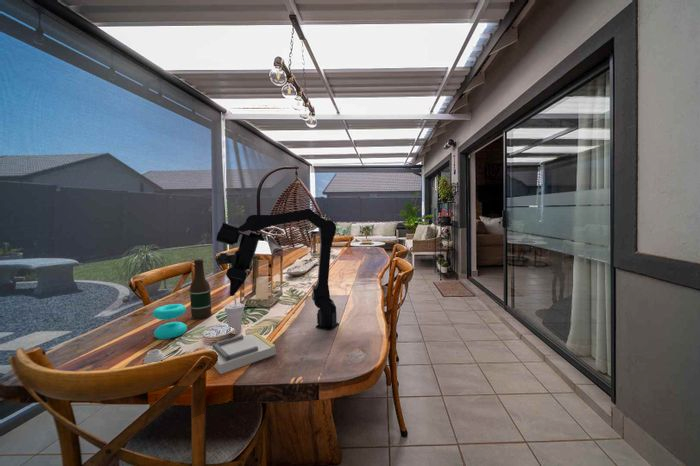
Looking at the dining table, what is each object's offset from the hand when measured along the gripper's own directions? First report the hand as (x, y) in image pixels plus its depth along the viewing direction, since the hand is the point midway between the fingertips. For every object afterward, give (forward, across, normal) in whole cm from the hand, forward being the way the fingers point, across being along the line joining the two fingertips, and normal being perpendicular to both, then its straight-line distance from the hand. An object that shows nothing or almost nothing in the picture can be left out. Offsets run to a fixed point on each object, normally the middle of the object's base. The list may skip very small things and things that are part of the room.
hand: (233, 292), depth 103 cm
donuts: (+22, -6, -17) cm, 28 cm away
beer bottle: (+20, -24, -12) cm, 34 cm away
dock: (+13, +16, +9) cm, 23 cm away
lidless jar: (+21, +14, -14) cm, 29 cm away
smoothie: (+15, -2, +4) cm, 16 cm away
